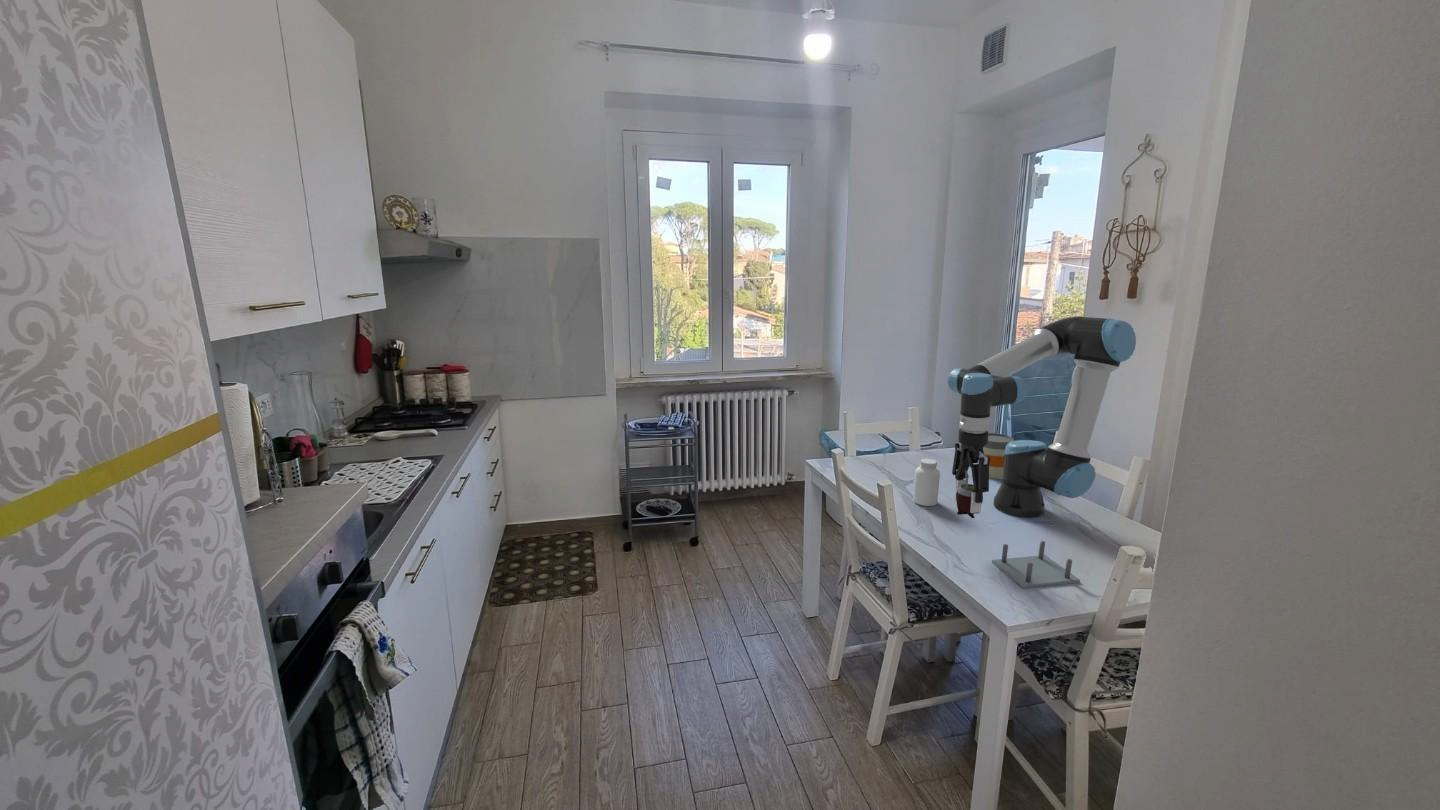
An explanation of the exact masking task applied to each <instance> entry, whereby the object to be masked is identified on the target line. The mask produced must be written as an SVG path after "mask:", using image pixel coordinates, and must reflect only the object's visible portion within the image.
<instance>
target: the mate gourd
mask: <svg viewBox="0 0 1440 810" xmlns="http://www.w3.org/2000/svg"><path fill="white" fill-rule="evenodd" d="M965 473H966V475H965V477H966V479H965V480H966V484H963V485H961V486H960V487H959V488H958V489H957V492H956V491H955V497H956V501H957V502H956V501H955V502H956V507H957V508H956V509H957V512H956V514H957V515H959V516H960V515H967V516H969V517H970V518H971V519H974V518H975V514H976V515H977V514H979V513H971V512H970V508H971V496H972V490H974V486H973V483H972V484H969V473H968V471H967V470H965ZM983 500H984V496H983V497H982V503H981V505H982V504H983V502H984V501H983Z"/></svg>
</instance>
